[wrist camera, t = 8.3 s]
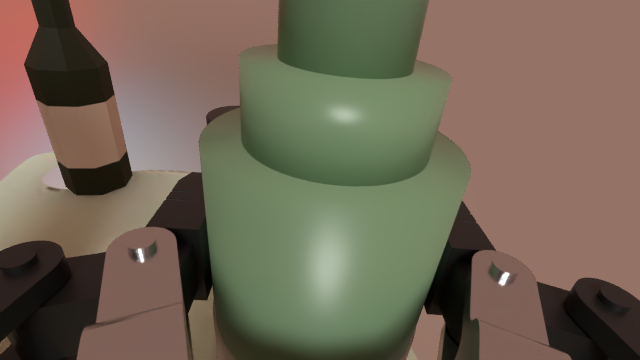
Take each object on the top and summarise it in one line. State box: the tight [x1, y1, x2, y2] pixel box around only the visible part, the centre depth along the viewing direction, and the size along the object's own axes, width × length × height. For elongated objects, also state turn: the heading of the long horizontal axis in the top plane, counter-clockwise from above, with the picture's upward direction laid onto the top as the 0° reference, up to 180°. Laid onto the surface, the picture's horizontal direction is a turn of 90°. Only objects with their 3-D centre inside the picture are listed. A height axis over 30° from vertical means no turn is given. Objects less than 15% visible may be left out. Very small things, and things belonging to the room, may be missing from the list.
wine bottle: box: [24, 0, 132, 195], centre depth 41 cm, size 8×8×30 cm
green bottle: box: [199, 0, 471, 360], centre depth 9 cm, size 6×6×20 cm
